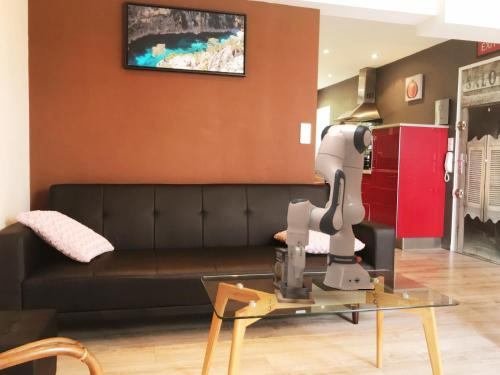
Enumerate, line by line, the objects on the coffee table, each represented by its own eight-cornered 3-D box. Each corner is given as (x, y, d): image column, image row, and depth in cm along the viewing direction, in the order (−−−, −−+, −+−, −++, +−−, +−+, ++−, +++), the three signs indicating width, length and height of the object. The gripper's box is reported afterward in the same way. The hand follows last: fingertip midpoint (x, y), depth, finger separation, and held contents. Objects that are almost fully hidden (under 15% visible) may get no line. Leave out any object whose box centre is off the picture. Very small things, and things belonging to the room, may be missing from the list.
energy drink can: (292, 289, 174) (294, 252, 173) (304, 292, 170) (307, 255, 170) (283, 292, 169) (285, 254, 169) (296, 295, 165) (298, 257, 165)
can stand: (308, 293, 177) (309, 281, 177) (315, 303, 163) (315, 290, 163) (274, 292, 176) (275, 279, 176) (278, 302, 162) (278, 289, 162)
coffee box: (272, 284, 188) (274, 247, 188) (285, 283, 191) (287, 247, 190) (282, 290, 180) (284, 251, 180) (295, 289, 183) (297, 251, 182)
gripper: (310, 244, 159) (308, 282, 159) (301, 236, 179) (299, 269, 180) (293, 244, 158) (291, 281, 159) (286, 235, 179) (284, 268, 179)
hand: (295, 274), depth 169 cm, fingers closed on energy drink can, 6 cm apart
